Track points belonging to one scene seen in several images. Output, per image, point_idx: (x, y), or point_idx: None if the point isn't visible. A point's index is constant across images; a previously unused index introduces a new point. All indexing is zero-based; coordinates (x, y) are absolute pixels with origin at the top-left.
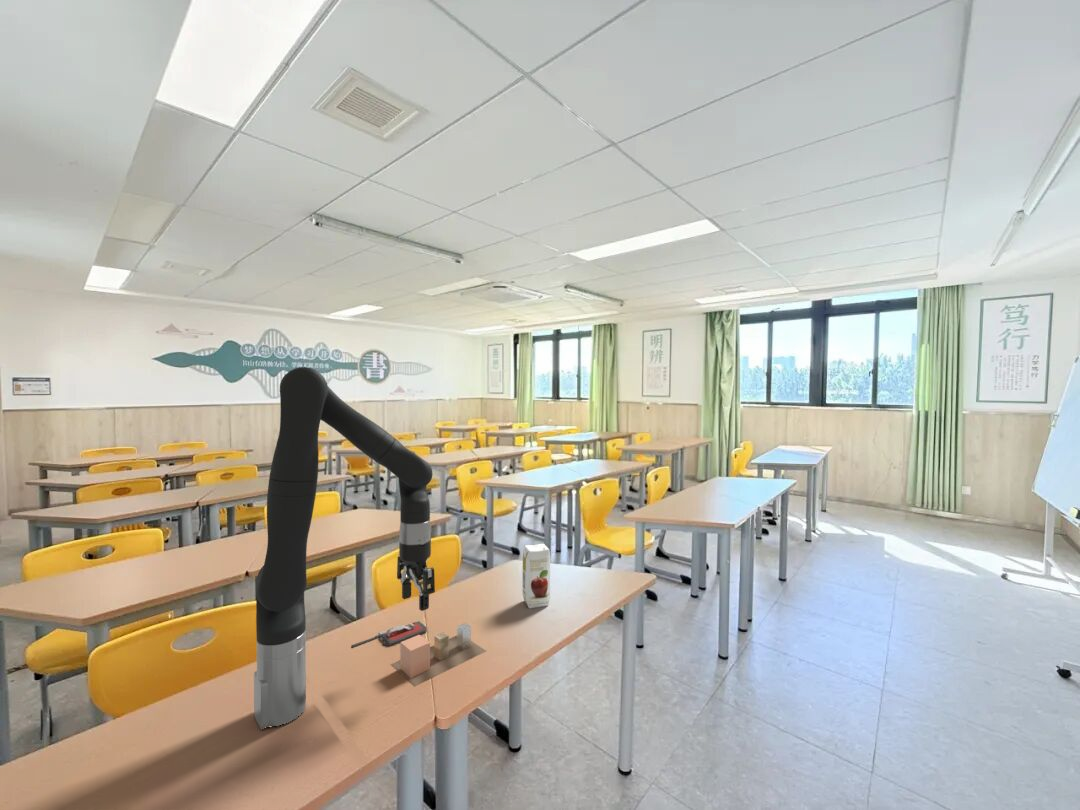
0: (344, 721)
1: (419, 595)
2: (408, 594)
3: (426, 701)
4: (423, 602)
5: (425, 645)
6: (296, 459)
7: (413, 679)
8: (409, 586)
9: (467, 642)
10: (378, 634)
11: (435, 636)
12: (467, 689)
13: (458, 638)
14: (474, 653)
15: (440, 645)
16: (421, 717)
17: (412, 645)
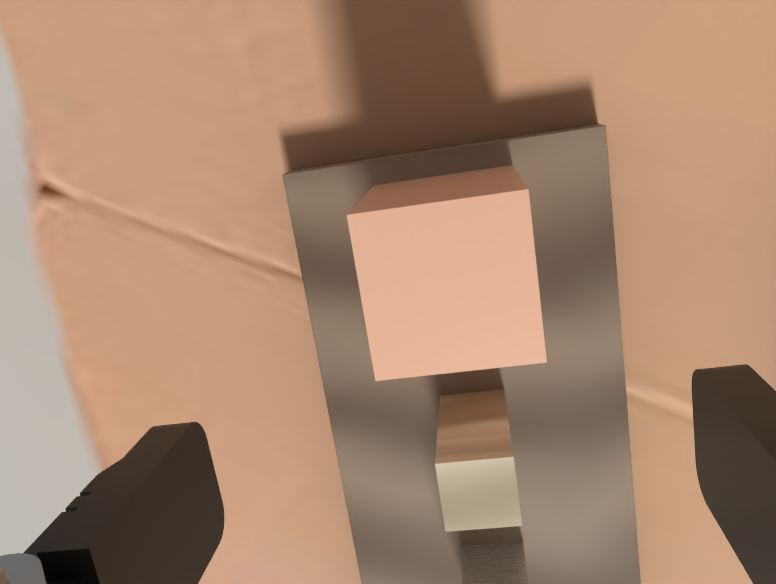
0: None
1: (83, 547)
2: (715, 473)
3: (187, 198)
4: (60, 515)
5: (368, 339)
6: None
7: (352, 194)
8: (768, 579)
9: None
10: None
11: (498, 457)
12: (170, 407)
13: (510, 577)
14: (387, 576)
15: (436, 445)
16: (81, 129)
17: (417, 254)
